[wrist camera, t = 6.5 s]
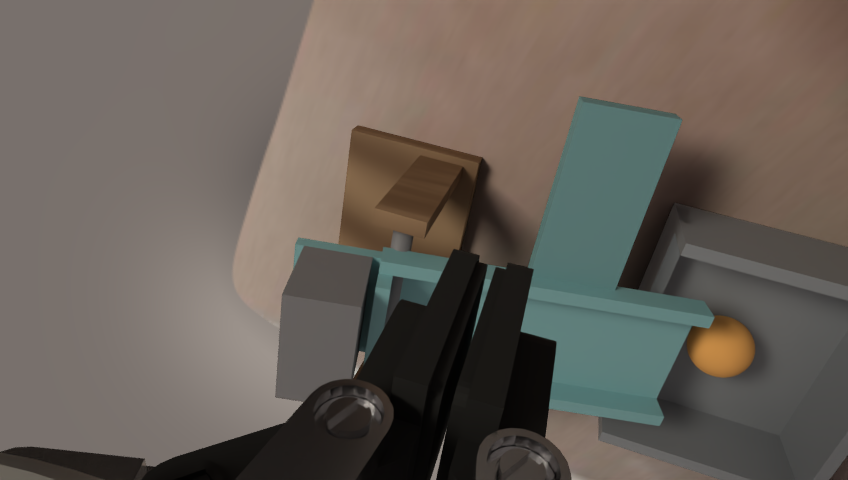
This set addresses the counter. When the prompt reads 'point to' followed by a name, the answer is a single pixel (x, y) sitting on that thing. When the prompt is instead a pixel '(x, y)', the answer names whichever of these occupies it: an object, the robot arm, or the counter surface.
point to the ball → (721, 347)
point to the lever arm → (550, 287)
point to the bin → (773, 361)
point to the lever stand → (406, 193)
